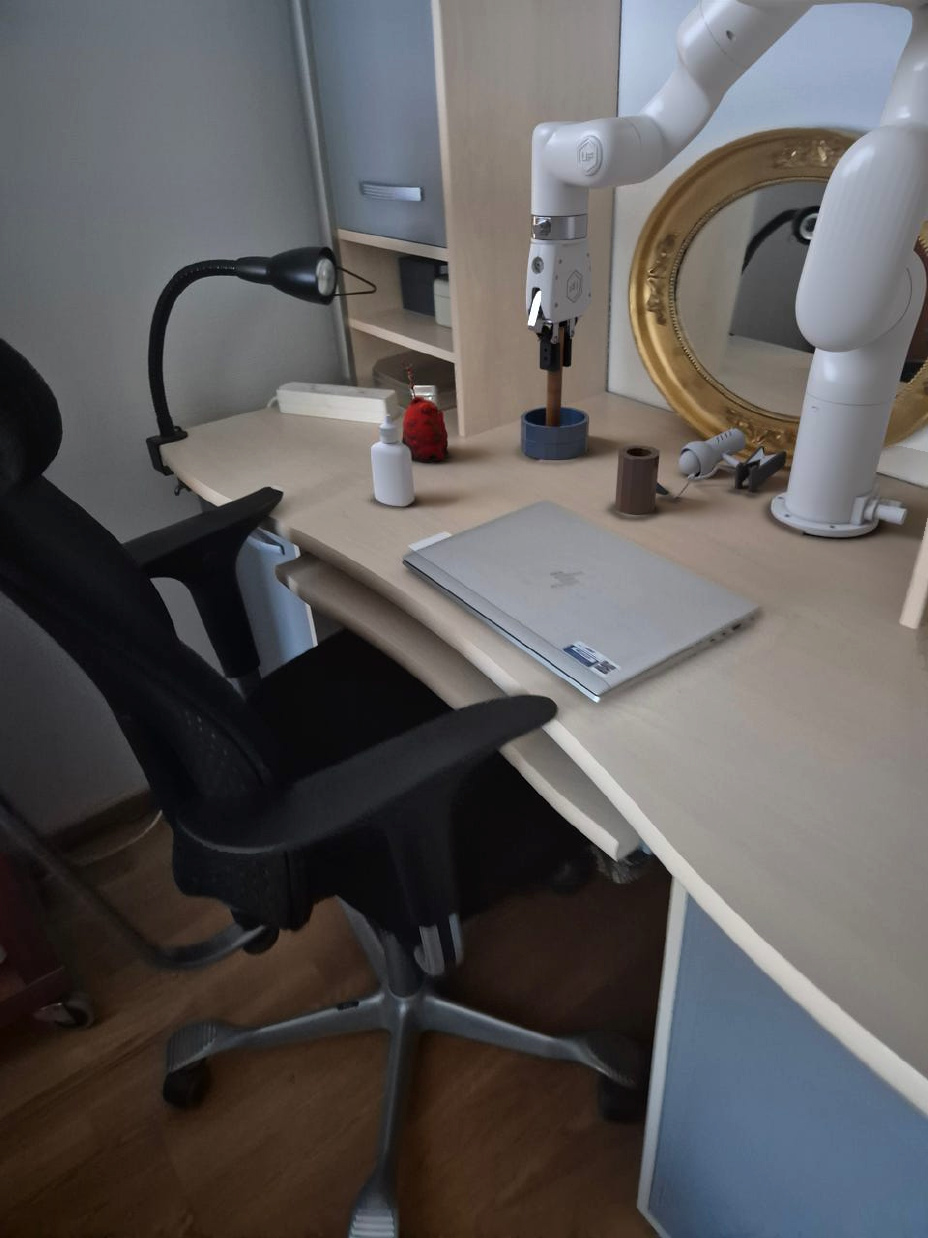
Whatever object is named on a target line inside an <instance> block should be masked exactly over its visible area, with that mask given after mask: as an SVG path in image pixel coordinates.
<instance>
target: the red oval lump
mask: <svg viewBox="0 0 928 1238" xmlns="http://www.w3.org/2000/svg"><path fill="white" fill-rule="evenodd" d="M401 363H402V365H403V366H404V367H405V368H406V369H402V370H400V373H403V372H407V378H408V380H409V382H410V383H409V389H410V390H411V391H412V394H413V398H412V399H411V400H410V404H409V405H408V407H406V410H405V412H404V416H403V422H402V427H403V428H402V438H401V442H402V443H403V444H405V445H406V446H407V447H408V448H409V449H410V452H411V460H412V461H415V462H421V463H431V462H432V461H435V462H441V461H443V460H444V459H445V457H446V456H447V455H448V454H449V450H448V447H449V441H448V438H449V436H448V435H449V434H448V431H447V429H446V424H445V421H444V419H445V418H444V412H443V411H442V410H440V409H438V406H437V405H436V403H435V402H434V401H432V400H429V399H425V398H424V397H423V396H416V393H415V389H414V388H415V383H414V382H413V381H412V380H413V377H414V376H413V374H412V373H411V368H412V366H413V363H411V364H410V365H409V366H408V365H407V364H406V363H405V361H404V360H401Z"/></svg>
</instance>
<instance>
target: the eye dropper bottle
mask: <svg viewBox="0 0 928 1238" xmlns="http://www.w3.org/2000/svg"><path fill="white" fill-rule="evenodd" d="M378 429H379V440H380V441H377V442H374V444H373V445H372V446H371V448H370V454H371V455H370V457H371V468H372V477H373V478H372V479H373V489H374V490H373V491H374V497H375V500H377V501H378V502H380V503H382V504H385V505H387V506H393V507H406V506H409V505H411V504H412V503H414V501H415V488H414V487H415V486H414V475H413V474H414V473H413V462H412V461H413V459H411V452H410V449H409V448H408V447H407V446H406V445H405V444H403V443H402V441H400V437H399V425H398V424H397V423H395V422H393V419H392V416H391V414H389V413H387V414H384V420H383V423H381V424H379V426H378Z"/></svg>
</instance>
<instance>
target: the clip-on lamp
mask: <svg viewBox="0 0 928 1238" xmlns="http://www.w3.org/2000/svg"><path fill="white" fill-rule="evenodd" d="M746 445H747V437H746V435H745V433H744V432H743V431H742V430H741V429H738V428H735V427H733V428H730V429H728V430H726V431H724V432H721V433H720V434H718V435H716V436H713V437H711V438H709V439H707V440H705V441H703V440H702V441H701V440H694V441H690V442H689V443H687V444H685V445H684V446H683V447H682V448H681V450H680V452H679V456H678V457H679V460H678V465H679V469H680V470H681V471H682V472H683V473H684V474H686V475H688V476H687V477H686V480H687V481H688V482H687V483H686V485H685V486H684V487H683V488H682V490H681V491H680V492H679V493H678V494H676V495H675V496H673V498H678V497H679V496H681V494H683V493H684V491H686V489H687V488H688V486H689V485H690V484H691V483H692V482H693V481H695V482H696V481H701V480H705V479H709V478H710V477H712V476H714V474H715V473H716V472H717V471H718V470H722V471H725V472H727V473H731V474H735V475H734V489H736V490H739V489H740V488H742V487H743V484H744V482H745V481H746V480H747V479H748V489H747V492H748V493H753V492H755V491H757V490H758V487H759V486H760V485H761V484H762V483H764V482H765V481H767V480H768V479H770V478H771V477H772V476H774V475H775V474H777V473H778V472H779V471H781V470H782V469H783V468H784V467H785V465H786V461H787V451H786V450H780V451H779V452H778V453H776V454H769V455H766V454H765V446H764V445H759V446H758V447H757V448H756V449H755V450H754V452H752V453H751V455H750V456H749V457H748V458H747V459H746V460H745V461H744V462H741V461H740V460H737V459H736V458H734V457H733V456H734V455H736V454H738V453H740V452H742V451H743V450H744V449H745V447H746ZM721 462H725V463H727V464H728V465H730V466H732V467H734V468H735V469H733V468H729V467H727V466H725V465H722V464H721V465H720V464H719V463H721ZM717 464H718V465H717ZM697 474H699V475H698V476H696V475H697ZM656 494H658V495H661V496H667V495H668V494H669V490H668V489H666V488H665V487H664V486H663V485H662V484H660V483H659V482H658V481H657V487H656Z"/></svg>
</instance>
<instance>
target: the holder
mask: <svg viewBox="0 0 928 1238" xmlns="http://www.w3.org/2000/svg"><path fill="white" fill-rule="evenodd" d="M659 464H660V450H658V449H657V448H655V447H653V446H648V445H641V444H634V445H627V446H623V447H621V448H620V449H618V458H617V470H616V487H615V498H614V499H615V501H614V508H615V509H616V510H617V511H618V512H620V513H623V514H625V515H631V516H641V515H648V514H650V513H652V512H653V511H654V510H655V508H656V497H657V496H656V495H657V493H656V487H657V482H658V476H659Z"/></svg>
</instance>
